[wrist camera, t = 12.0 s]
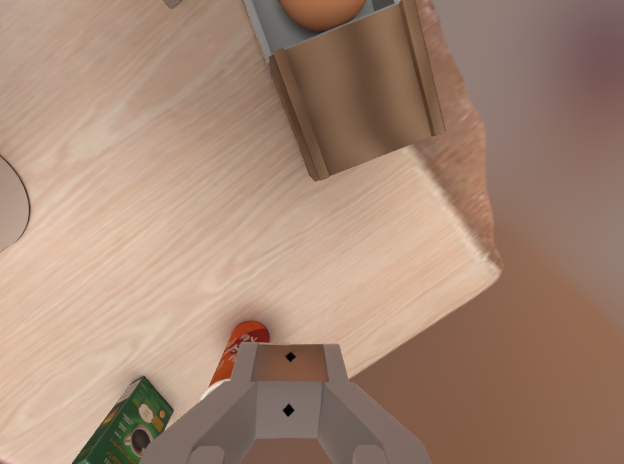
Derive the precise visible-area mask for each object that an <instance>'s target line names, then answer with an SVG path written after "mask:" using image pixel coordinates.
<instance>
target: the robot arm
mask: <svg viewBox="0 0 624 464" xmlns="http://www.w3.org/2000/svg"><path fill="white" fill-rule="evenodd" d="M28 215H29V206H28V200H27V196H26V192H25V190H24V187H23V185H22V183H21V181H20V179H19V178H18V176H17V175H16V173H15V172H14V171H13V169H12V168H11V167H10V166H9V165H8V164H7V163H6V162H5V161H4V160H3V159H2V158H1V157H0V252H1V251H2V250H3V249H5V248H7V247H8V246H10V245H11V244H13V243H14V242H15V241H16V240H17V239H18V238H19V237H20V236H21V235H22V233H23V231H24V229H25V227H26V225H27V221H28ZM259 438H260V439H263V438H318V441H319V442H320V444H321V446H322V447H323V449H324V450H325V452H326V454H327V455H328V457H329V458H330V460H331V461H332V463H333V464H432V463H431V461H430V458H429V456H428V454H427V452H426V450H425V447H424V445H423V443H422V442H421V441H420V440H418V439H417V438H416V437H415V436H414V435H413V434H412V433H411V432H409V431H408V430H407V429H406V428H405V427H404V426H403V425H401V424H400V423H399V422H398V421H397V420H396V419H395V418H394V417H392V416H391V415H390V414H389V413H388V412H387V411H386V410H385V409H383V408H382V407H381V406H380V405H379V404H378V403H377V402H376V401H374V400H373V399H372V398H371V397H370V396H369V395H368V394H366V393H365V392H364V391H363V390H362V389H361V388H360V387H359V386H357V385H356V384H355V383H354V382H349V380H348V376H347V372H346V368H345V364H344V361H343V357H342V353H341V349H340V345H339V344H286V343H263V342H258V343H257V342H241V344H240V345H239V349H238V353H237V356H236V360H235V364H234V367H233V371H232V375H231V378H230V381H224V382H223V383H222V384H220V385H219V386H218V387H217V388H216V389H214V390H213V391H212V392H211V393H210V394H208V395H207V396H206V397H205V398H204V399H202V400H201V401H200V402H199V403H198V404H196V405H195V406H194V407H193V408H192V409H190V410H189V411H188V412H187V413H186V414H184V415H183V416H182V417H181V418H180V419H178V420H177V421H176V422H175V423H174V424H172V425H171V426H170V427H169V428H167V429H166V430H165V431H164V432H163V433H161V434H160V435H159V436H158V437H157V438H155V439H154V440H153V441H152V442H151V443H149V444H148V446H147V448H146V450H145V452H144V454H143V456H142V458H141V460H140V462H139V464H239V463H240V462H241V460H242V459H243V457H244V456H245V455H246V453H247V452H248V450H249V449H250V447H251V446H252V445H253V443H254V442H255V439H259Z"/></svg>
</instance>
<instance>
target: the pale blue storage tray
mask: <svg viewBox="0 0 624 464" xmlns="http://www.w3.org/2000/svg"><path fill="white" fill-rule="evenodd" d="M242 1H243V4H244V7H245V9H246V12H247V15H248V17H249V20H250V23H251V25H252V28H253V31H254V33H255V36H256V38H257V41H258V44H259V46H260V49H261V52H262V54H263V57H264V60H265V62H266V65H267V68H268V70H269V73H270V76H271V78H273V74H272V70H271V66H270V62H269V58H268V57H269V56H271V55H273V51H276V50H278V49H281V48H284V50H286V49H289V48H291V47H293V46H296V45H298V44H301V43H303V42H306V41H308V40H311V39H313V38H315V37H318V36H320V35H323V34H325V33H328V32H330V31H333V30H335V29H338V28H340V27H342V26H345V25H347V24H350V23H352V22H355V21H357V20H360V19H362V18H364V17H367V16H369V15H372V14H374V13H377V12H379V11H382V10H384V9H387V8H389V7H391V6H394V5H396V4H399V2H400V1H401V0H366V2H365V4H364V6H363V7H362V9H361V10H360V12H359V13H358V14H357V15H356V16H355V17H354V18H353V19H352V20H351V21H350V22H348V23H346V24H343V25H341V26H338V27H336V28H333V29H331V30H329V31H326V32H315V31H311V30H308V29H306V28H303V27H302V26H300V25H298V24H297V23H296V22H294V21H293V20H292V19H291V18H290V17H289V16H288V14H287V13H286V12H285V11H284V9H283V8H282V6H281V4H280V2H279V0H242Z"/></svg>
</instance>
